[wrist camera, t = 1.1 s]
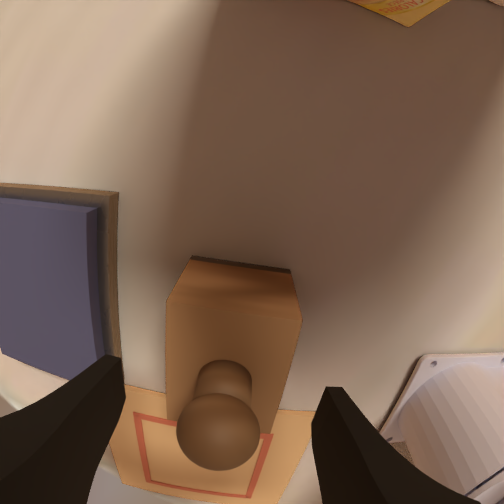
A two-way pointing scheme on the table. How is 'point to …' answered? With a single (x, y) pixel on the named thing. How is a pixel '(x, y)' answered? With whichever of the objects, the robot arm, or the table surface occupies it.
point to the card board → (191, 475)
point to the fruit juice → (498, 2)
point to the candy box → (402, 9)
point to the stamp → (228, 357)
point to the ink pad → (58, 277)
